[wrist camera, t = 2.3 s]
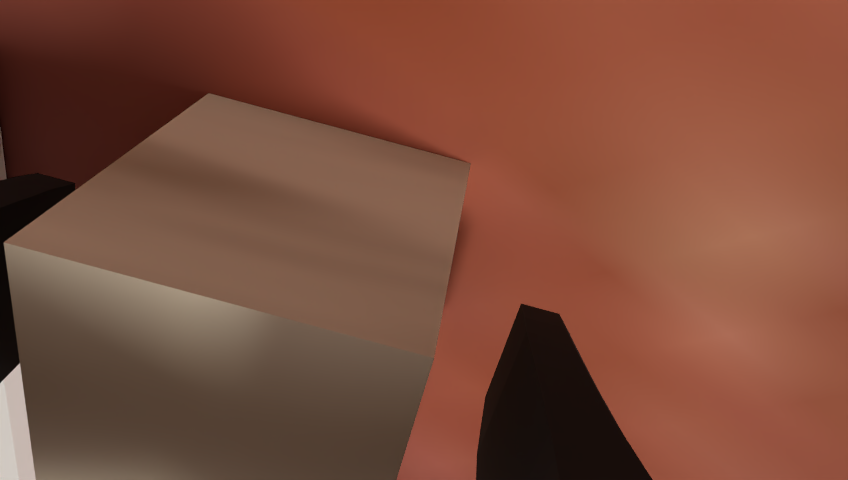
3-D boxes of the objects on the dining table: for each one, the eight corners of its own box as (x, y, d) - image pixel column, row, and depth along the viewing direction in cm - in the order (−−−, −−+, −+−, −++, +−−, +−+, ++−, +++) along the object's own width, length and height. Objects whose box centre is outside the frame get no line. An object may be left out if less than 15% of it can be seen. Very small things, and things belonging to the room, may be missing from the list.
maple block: (413, 359, 13) (358, 600, 9) (198, 302, 13) (40, 514, 9) (470, 161, 11) (433, 358, 7) (210, 92, 11) (4, 242, 7)
